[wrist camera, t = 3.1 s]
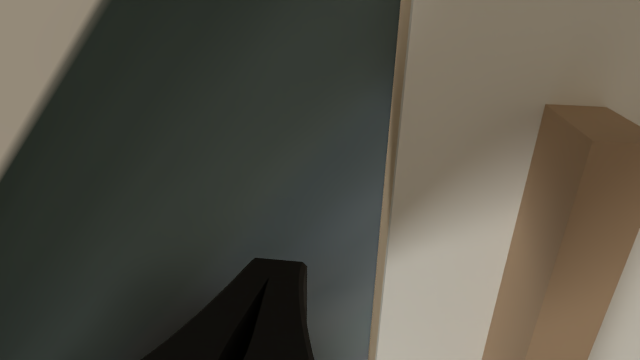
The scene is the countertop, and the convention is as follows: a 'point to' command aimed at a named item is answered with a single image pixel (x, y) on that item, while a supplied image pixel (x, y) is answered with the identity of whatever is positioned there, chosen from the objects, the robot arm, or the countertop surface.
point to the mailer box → (390, 167)
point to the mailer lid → (516, 184)
